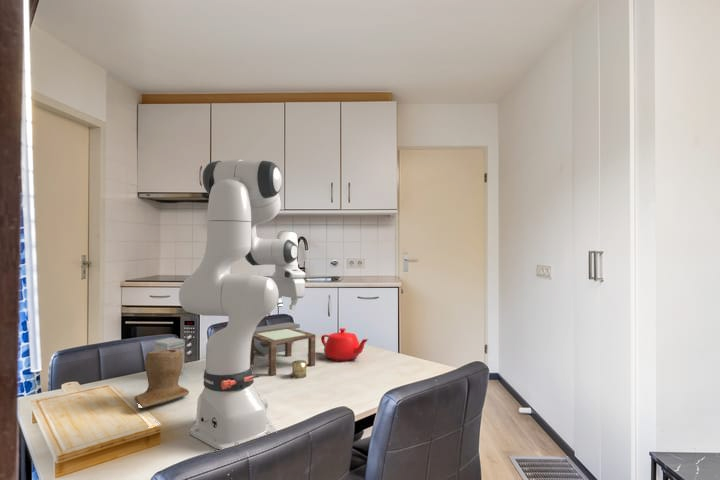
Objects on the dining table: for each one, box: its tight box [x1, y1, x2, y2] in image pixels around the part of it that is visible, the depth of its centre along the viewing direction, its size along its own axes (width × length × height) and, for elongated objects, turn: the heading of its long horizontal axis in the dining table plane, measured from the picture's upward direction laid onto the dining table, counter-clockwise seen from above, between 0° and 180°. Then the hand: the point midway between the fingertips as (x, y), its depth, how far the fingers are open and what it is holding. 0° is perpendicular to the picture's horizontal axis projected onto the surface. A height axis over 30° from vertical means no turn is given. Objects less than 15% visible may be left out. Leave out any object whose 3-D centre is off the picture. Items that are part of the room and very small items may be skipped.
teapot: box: [320, 327, 369, 362], centre depth 162 cm, size 25×16×12 cm, turn 54°
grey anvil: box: [254, 321, 301, 356], centre depth 172 cm, size 25×8×11 cm, turn 135°
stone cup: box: [134, 349, 190, 409], centre depth 115 cm, size 15×12×15 cm
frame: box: [250, 327, 316, 377], centre depth 152 cm, size 19×19×12 cm
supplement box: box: [153, 337, 186, 376], centre depth 138 cm, size 7×7×13 cm
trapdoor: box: [257, 329, 306, 340], centre depth 152 cm, size 14×14×1 cm
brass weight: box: [291, 359, 307, 379], centre depth 138 cm, size 5×5×5 cm
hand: (286, 308), depth 150 cm, fingers open, 8 cm apart
